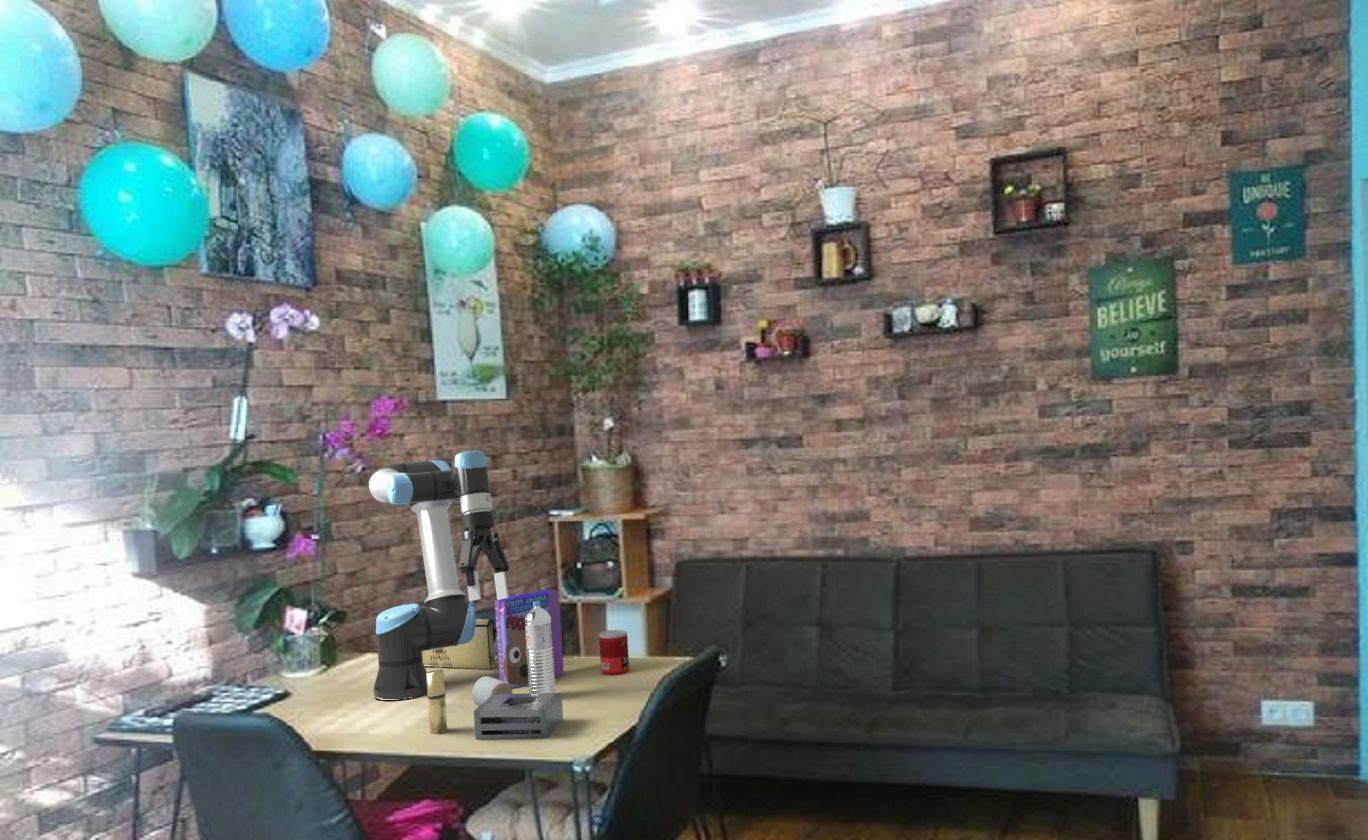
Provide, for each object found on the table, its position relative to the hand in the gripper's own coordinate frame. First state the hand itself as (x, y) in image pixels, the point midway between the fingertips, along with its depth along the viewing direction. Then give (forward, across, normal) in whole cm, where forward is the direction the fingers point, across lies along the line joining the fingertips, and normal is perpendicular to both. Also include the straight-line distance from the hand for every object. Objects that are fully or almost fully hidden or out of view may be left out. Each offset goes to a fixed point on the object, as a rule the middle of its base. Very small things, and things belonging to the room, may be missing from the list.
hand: (489, 599), depth 233 cm
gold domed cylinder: (+28, -3, +16) cm, 32 cm away
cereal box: (+21, +39, +12) cm, 46 cm away
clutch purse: (+14, +53, +42) cm, 69 cm away
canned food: (+23, +49, -9) cm, 55 cm away
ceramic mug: (+26, +16, +10) cm, 32 cm away
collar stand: (+31, 0, -3) cm, 31 cm away
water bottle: (+26, +24, +2) cm, 35 cm away
